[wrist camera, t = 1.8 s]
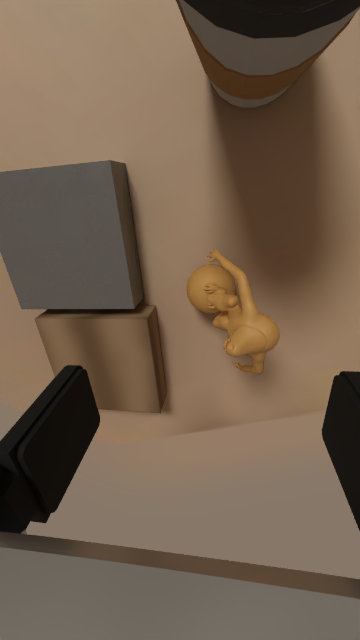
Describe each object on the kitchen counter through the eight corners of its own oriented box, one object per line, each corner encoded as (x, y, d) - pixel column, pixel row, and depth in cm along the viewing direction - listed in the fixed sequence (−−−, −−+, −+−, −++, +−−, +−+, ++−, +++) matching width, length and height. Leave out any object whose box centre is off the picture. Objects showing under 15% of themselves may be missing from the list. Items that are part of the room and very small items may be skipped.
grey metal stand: (125, 163, 21) (109, 160, 18) (144, 296, 25) (134, 308, 23) (2, 176, 23) (-28, 175, 20) (41, 297, 27) (21, 309, 25)
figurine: (178, 240, 23) (135, 289, 12) (250, 221, 21) (273, 259, 10) (201, 325, 26) (182, 422, 15) (264, 314, 24) (293, 414, 14)
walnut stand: (155, 305, 26) (147, 319, 23) (166, 393, 31) (160, 413, 28) (52, 306, 28) (34, 318, 25) (78, 388, 32) (65, 406, 30)
